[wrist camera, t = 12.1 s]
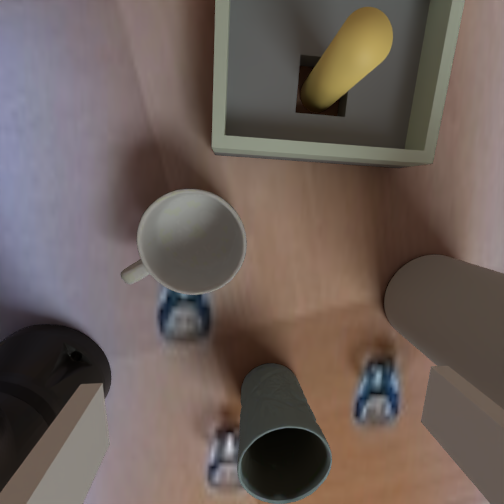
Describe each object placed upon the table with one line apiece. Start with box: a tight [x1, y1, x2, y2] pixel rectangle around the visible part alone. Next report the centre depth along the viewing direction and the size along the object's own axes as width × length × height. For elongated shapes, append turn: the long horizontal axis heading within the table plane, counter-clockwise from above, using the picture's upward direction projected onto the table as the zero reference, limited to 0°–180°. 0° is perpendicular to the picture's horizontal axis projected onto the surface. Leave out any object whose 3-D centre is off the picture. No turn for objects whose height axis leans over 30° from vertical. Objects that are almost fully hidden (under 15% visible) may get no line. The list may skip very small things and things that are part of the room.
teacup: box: [121, 189, 247, 295], centre depth 31 cm, size 14×11×8 cm
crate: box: [212, 0, 465, 168], centre depth 28 cm, size 23×18×6 cm
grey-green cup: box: [237, 363, 332, 504], centre depth 34 cm, size 10×10×12 cm
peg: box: [300, 7, 393, 113], centre depth 26 cm, size 4×4×12 cm
